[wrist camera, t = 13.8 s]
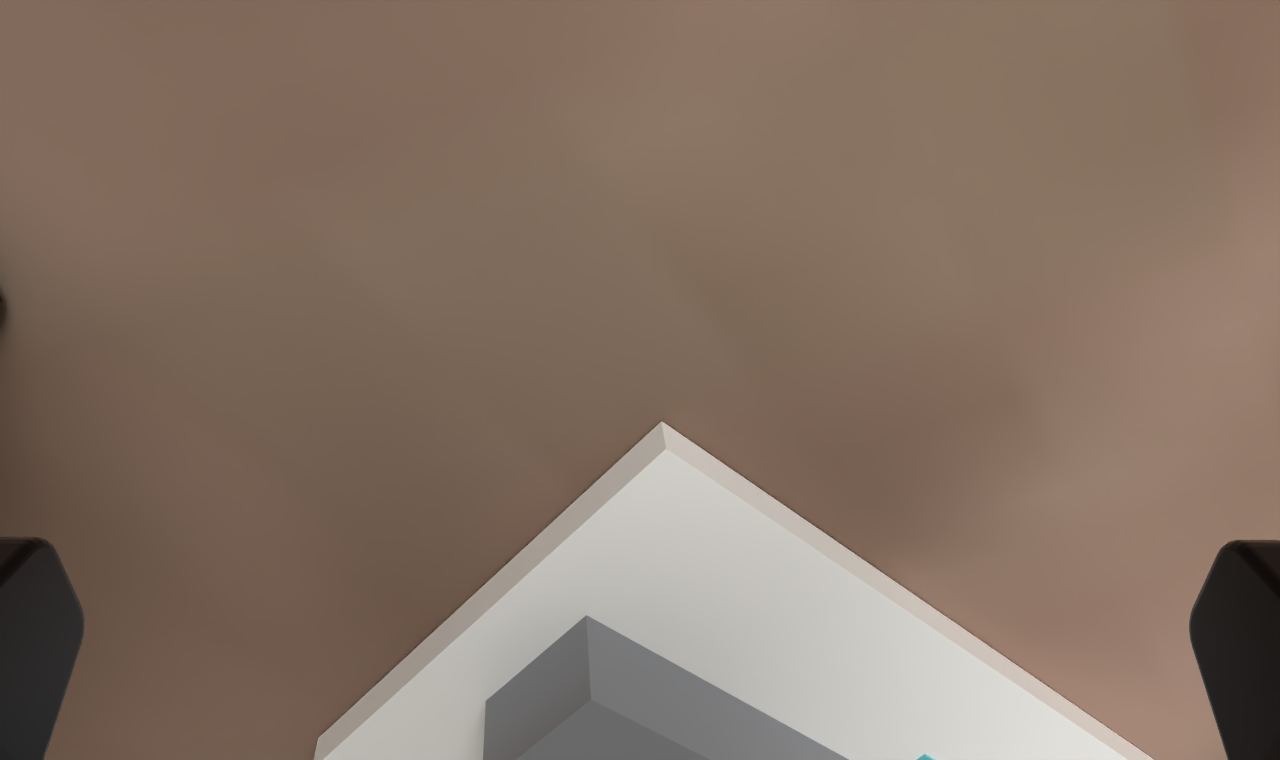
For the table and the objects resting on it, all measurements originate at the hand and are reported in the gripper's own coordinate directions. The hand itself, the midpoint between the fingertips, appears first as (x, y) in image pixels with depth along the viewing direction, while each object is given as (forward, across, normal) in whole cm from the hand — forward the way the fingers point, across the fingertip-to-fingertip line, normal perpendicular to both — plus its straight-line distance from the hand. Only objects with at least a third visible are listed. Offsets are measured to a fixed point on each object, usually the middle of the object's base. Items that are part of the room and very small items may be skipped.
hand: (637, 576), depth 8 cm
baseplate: (+13, -4, +21) cm, 25 cm away
